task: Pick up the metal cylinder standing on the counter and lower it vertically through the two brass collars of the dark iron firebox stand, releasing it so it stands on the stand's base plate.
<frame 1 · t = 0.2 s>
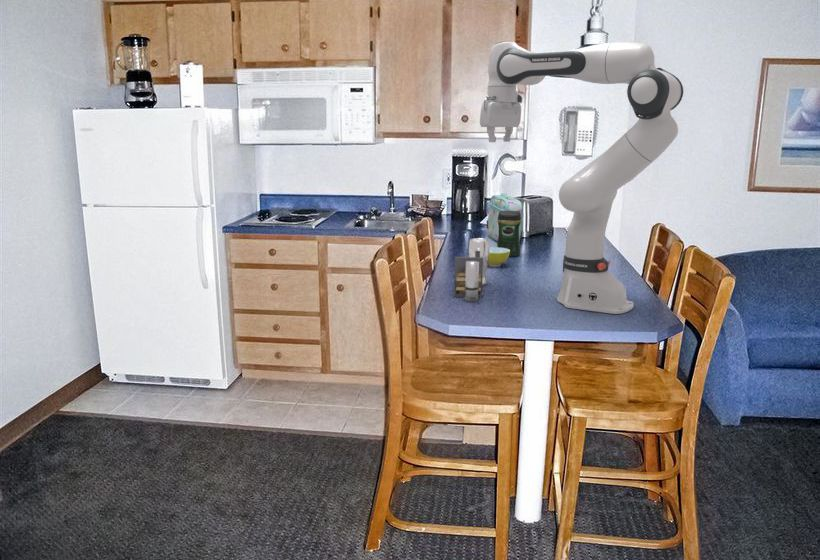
hand: (499, 142, 206), 47 cm above the table, fingers open, 8 cm apart
lunch box: (502, 240, 303), on the table
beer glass: (477, 283, 221), on the table
coffee jar: (507, 255, 269), on the table
firebox stand: (468, 293, 208), on the table
bowl: (494, 266, 249), on the table
metal cylinder: (471, 300, 200), on the table
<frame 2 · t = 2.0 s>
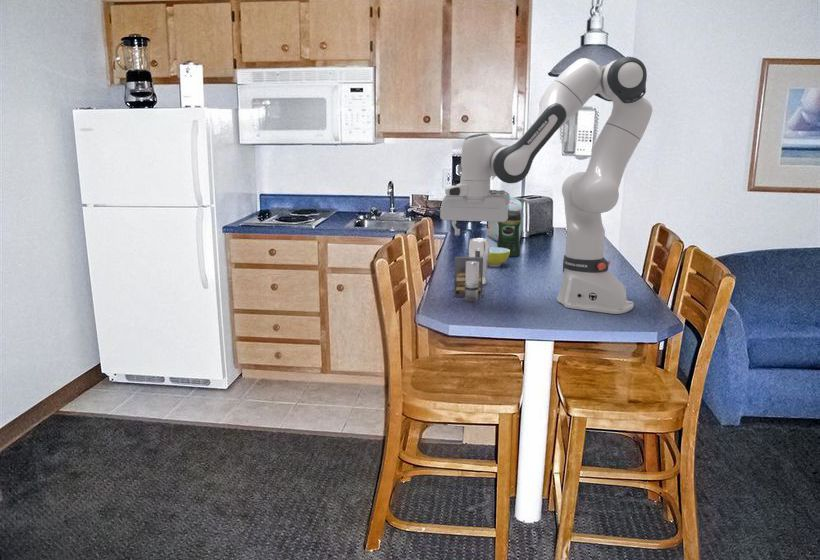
hand: (472, 235, 195), 20 cm above the table, fingers open, 8 cm apart
nothing on the table moved.
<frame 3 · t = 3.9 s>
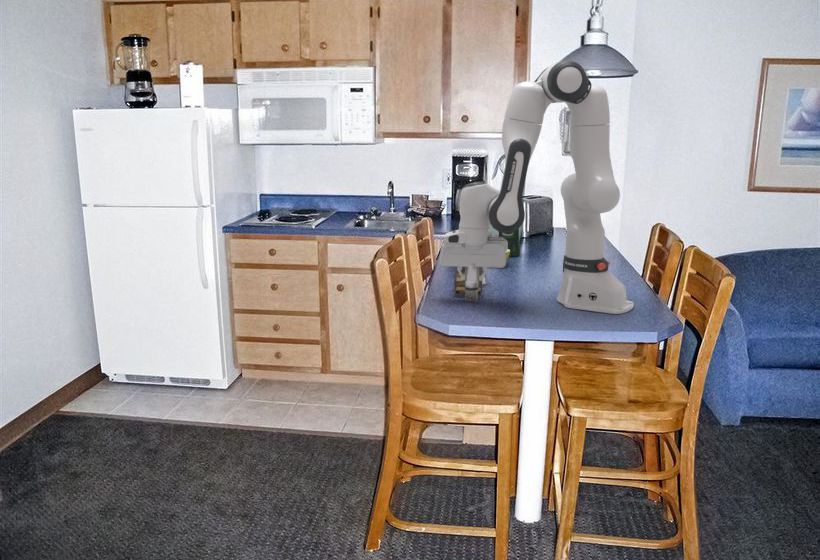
hand: (471, 280, 199), 6 cm above the table, fingers closed on metal cylinder, 4 cm apart
metal cylinder: (471, 300, 200), on the table, touching gripper
everything else where it was.
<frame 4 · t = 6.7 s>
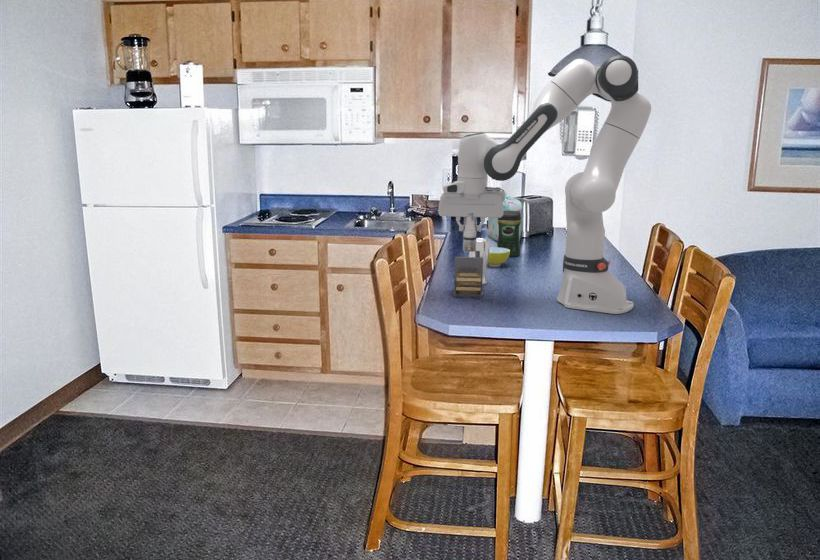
hand: (469, 231, 203), 20 cm above the table, fingers closed on metal cylinder, 4 cm apart
metal cylinder: (469, 250, 204), point 14 cm above the table, touching gripper
everything else where it was.
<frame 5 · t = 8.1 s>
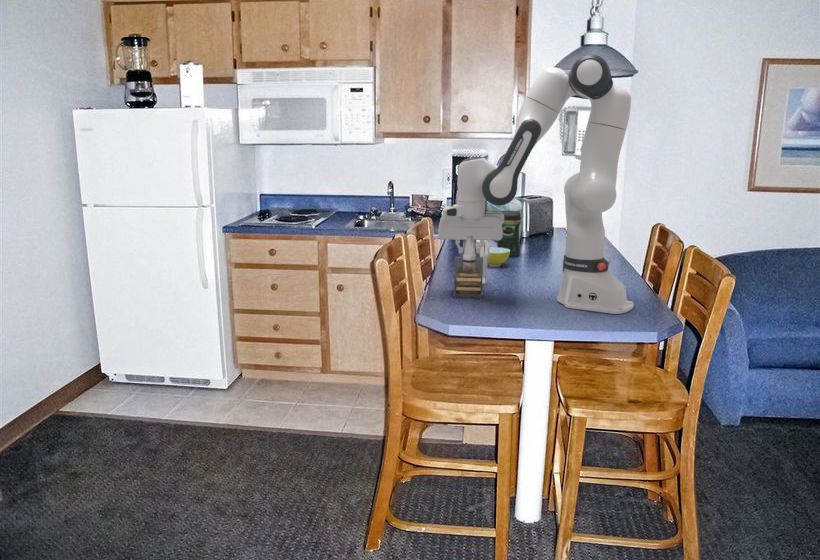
hand: (469, 253, 205), 13 cm above the table, fingers closed on metal cylinder, 4 cm apart
metal cylinder: (468, 272, 206), point 7 cm above the table, touching gripper
everything else where it was.
when the fingers open (9 cm above the table, at t = 9.4 s): metal cylinder drops 1 cm, resting on firebox stand.
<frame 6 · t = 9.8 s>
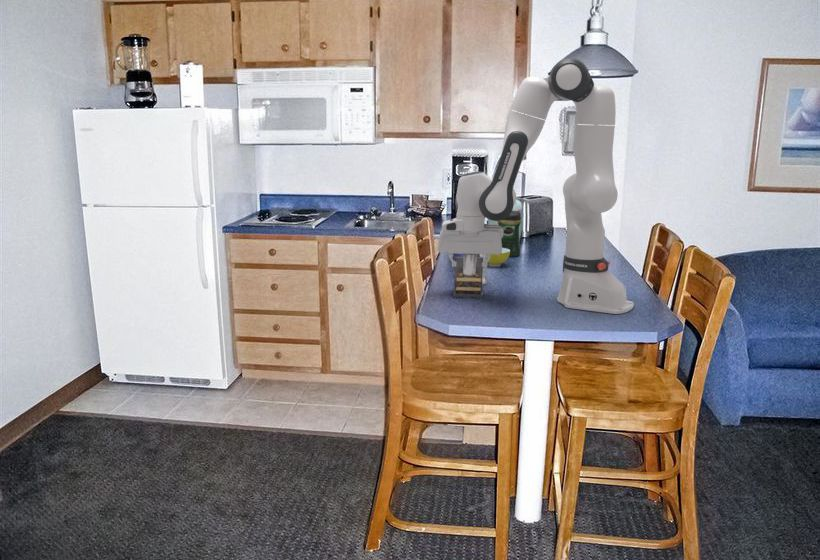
hand: (469, 267, 206), 9 cm above the table, fingers open, 8 cm apart
metal cylinder: (468, 290, 207), point 1 cm above the table, touching firebox stand
everything else where it was.
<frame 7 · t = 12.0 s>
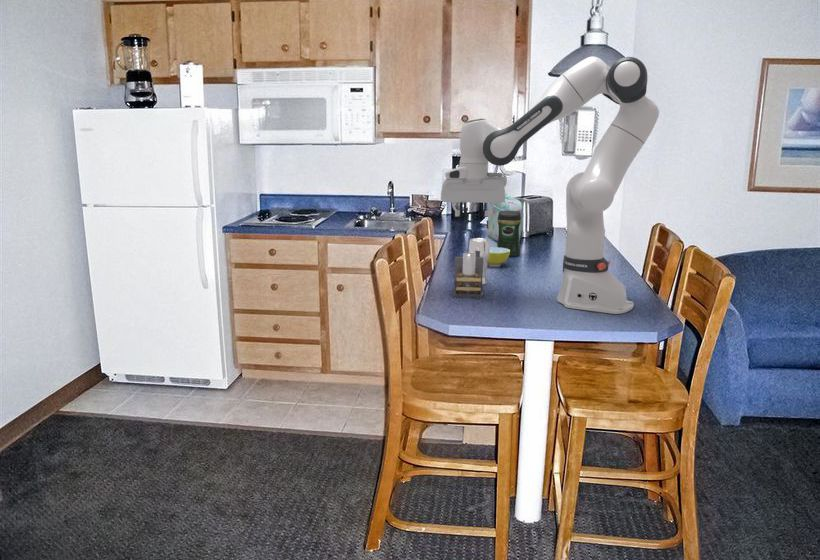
hand: (472, 216, 206), 24 cm above the table, fingers open, 8 cm apart
nothing on the table moved.
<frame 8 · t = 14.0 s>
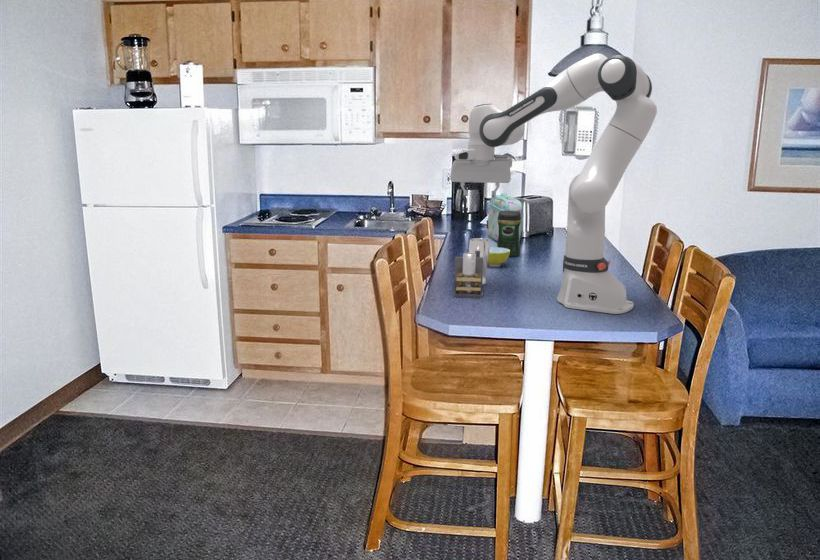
hand: (479, 196, 219), 29 cm above the table, fingers open, 8 cm apart
nothing on the table moved.
at the end: metal cylinder 0.0 cm off-centre on the firebox stand, point 1.0 cm above the firebox stand's base; metal cylinder tilted 1°; the gripper is holding nothing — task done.
